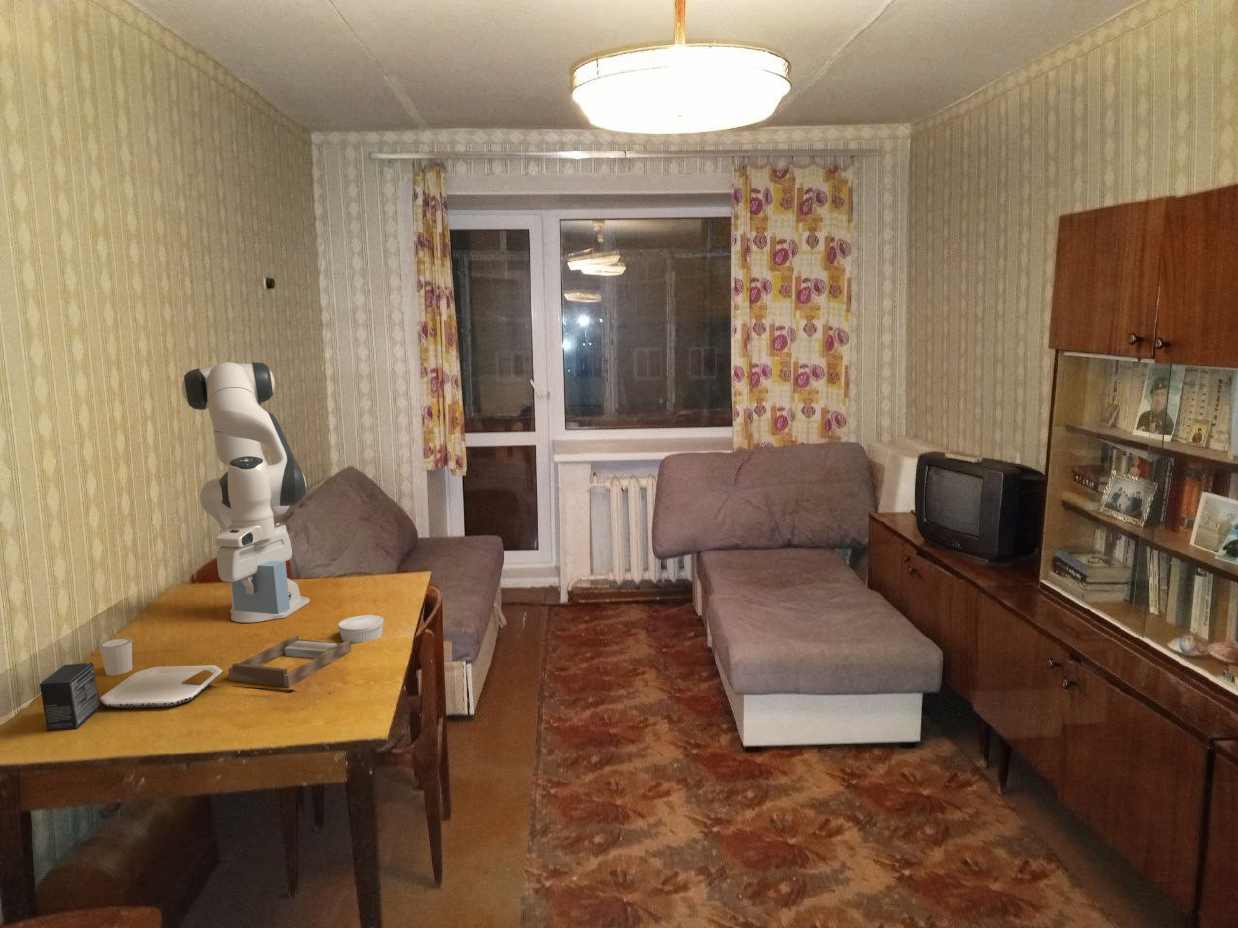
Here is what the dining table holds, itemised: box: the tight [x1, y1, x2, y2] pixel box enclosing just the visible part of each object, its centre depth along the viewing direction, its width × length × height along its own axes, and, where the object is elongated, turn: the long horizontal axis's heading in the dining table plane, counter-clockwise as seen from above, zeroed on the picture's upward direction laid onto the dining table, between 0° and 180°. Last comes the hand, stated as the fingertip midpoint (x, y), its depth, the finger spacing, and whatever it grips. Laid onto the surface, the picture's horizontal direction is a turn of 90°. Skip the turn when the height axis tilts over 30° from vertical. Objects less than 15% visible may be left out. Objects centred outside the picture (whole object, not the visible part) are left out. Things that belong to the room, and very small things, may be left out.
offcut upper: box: [284, 641, 337, 659], centre depth 225 cm, size 5×11×2 cm, turn 74°
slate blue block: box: [231, 561, 290, 614], centre depth 211 cm, size 4×12×11 cm, turn 71°
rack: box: [227, 635, 352, 694], centre depth 218 cm, size 23×16×5 cm
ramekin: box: [337, 614, 385, 644], centre depth 237 cm, size 11×11×5 cm
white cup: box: [98, 637, 133, 676], centre depth 223 cm, size 7×7×7 cm
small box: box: [39, 662, 101, 732], centre depth 195 cm, size 11×6×10 cm, turn 5°
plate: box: [99, 664, 224, 709], centre depth 209 cm, size 21×21×2 cm
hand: (260, 589), depth 211 cm, fingers closed on slate blue block, 4 cm apart
